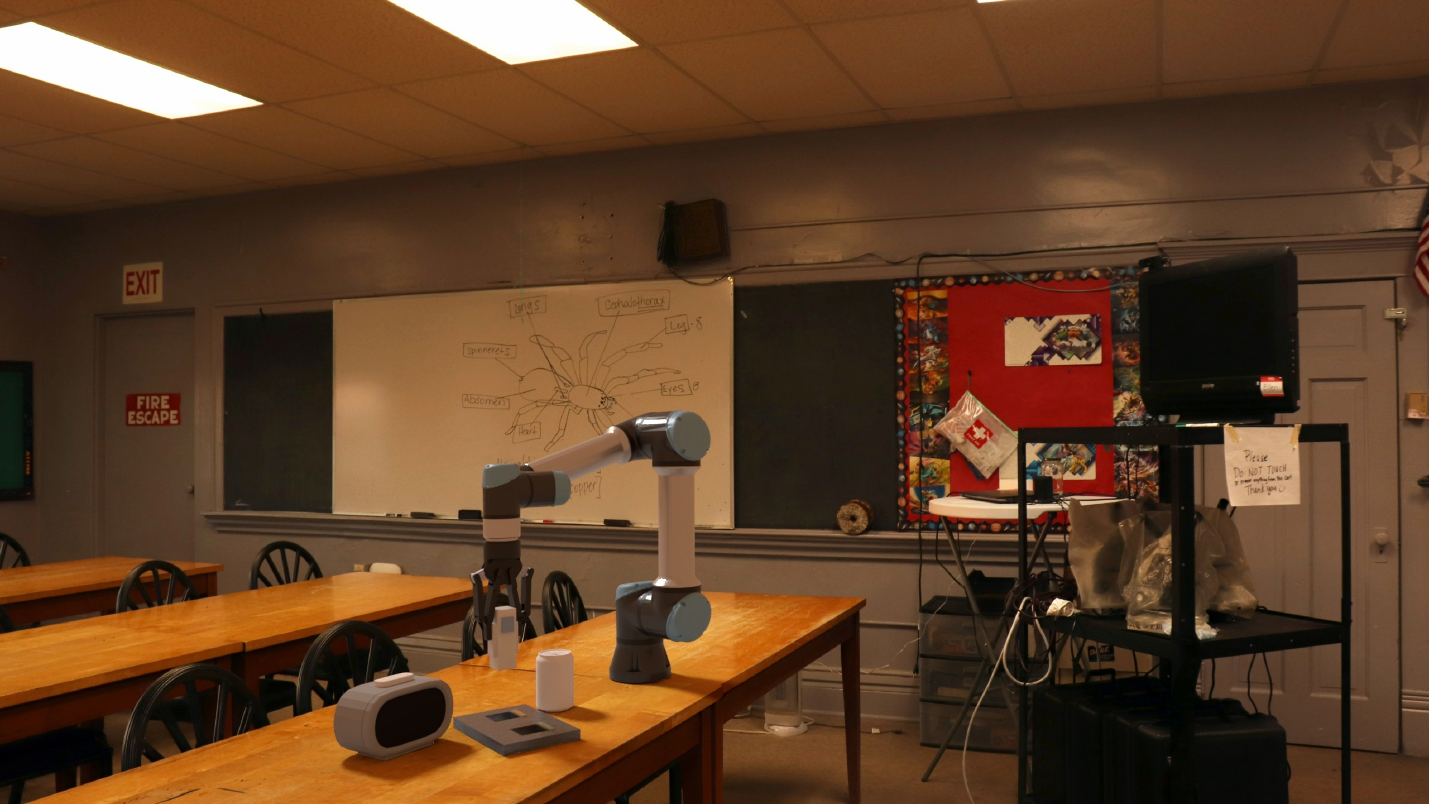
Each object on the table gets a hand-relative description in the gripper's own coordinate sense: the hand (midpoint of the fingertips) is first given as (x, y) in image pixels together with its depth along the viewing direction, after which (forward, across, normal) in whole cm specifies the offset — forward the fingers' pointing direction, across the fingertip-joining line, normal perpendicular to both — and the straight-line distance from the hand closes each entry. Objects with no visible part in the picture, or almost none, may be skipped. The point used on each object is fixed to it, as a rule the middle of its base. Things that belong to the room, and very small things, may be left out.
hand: (503, 654), depth 201 cm
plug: (+3, 0, 0) cm, 3 cm away
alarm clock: (+15, +22, +1) cm, 27 cm away
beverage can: (+15, -15, -6) cm, 22 cm away
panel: (+15, 0, +6) cm, 16 cm away
